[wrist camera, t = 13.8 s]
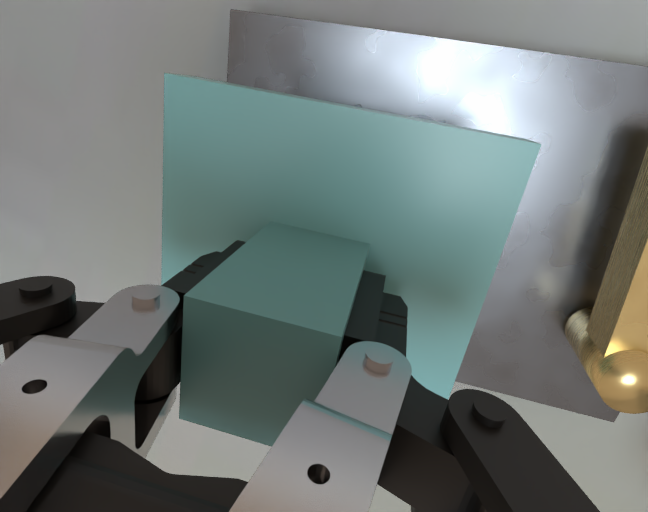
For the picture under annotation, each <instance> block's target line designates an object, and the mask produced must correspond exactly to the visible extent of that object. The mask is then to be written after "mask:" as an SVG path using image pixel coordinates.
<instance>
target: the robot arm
mask: <svg viewBox="0 0 648 512" xmlns="http://www.w3.org/2000/svg"><path fill="white" fill-rule="evenodd" d="M245 243H246V242H244V241H240V240H236V241H235V242H234V243H233V244H231V245H230V246H229V247H228V248H226V249H225V250H224V251H222V252H218V251H216V252H212V253H209V254H206V255H202V256H200V257H199V258H198V259H196V260H195V261H194V262H192V263H191V265H188V266H187V267H186V268H184V269H183V271H180V272H179V273H177V274H176V275H175V276H173V277H172V278H171V279H169V280H168V281H167V282H165V283H164V284H163V285H161V286H159V285H137V286H132V287H128V288H125V289H123V290H121V291H119V292H117V293H116V294H115V295H113V296H112V297H111V298H110V299H109V300H108V301H107V302H106V303H97V302H82V301H76V293H75V286H74V284H73V283H72V282H70V281H69V280H67V279H64V278H60V277H53V276H37V277H29V278H24V279H19V280H15V281H11V282H6V283H2V284H0V345H1V344H3V348H4V354H5V361H4V362H2V363H1V364H0V512H369V508H370V505H371V502H372V499H373V496H374V492H375V489H376V486H377V484H378V485H380V486H381V487H383V488H384V489H386V490H387V491H389V492H391V493H392V494H394V495H395V496H397V497H398V498H400V499H401V500H403V501H404V502H406V503H408V504H409V505H411V512H600V511H599V510H598V509H597V507H596V506H595V505H594V504H593V503H592V501H591V500H590V499H589V498H588V497H587V495H586V494H585V493H584V492H583V491H582V489H581V488H580V487H579V486H578V485H577V483H576V482H575V481H574V480H573V479H572V477H571V476H570V475H569V474H568V473H567V471H566V470H565V469H564V468H563V467H562V465H561V464H560V463H559V462H558V461H557V459H556V458H555V457H554V456H553V455H552V453H551V452H550V451H549V450H548V449H547V447H546V446H545V445H544V444H543V443H542V441H541V440H540V439H539V438H538V436H537V435H536V434H535V433H534V432H533V430H532V429H531V428H530V427H529V426H528V424H527V423H526V422H525V421H524V420H523V418H522V417H521V416H520V415H519V414H518V413H517V412H516V411H515V410H514V409H513V408H512V407H511V406H510V405H508V404H507V403H506V402H504V401H503V400H501V399H499V398H498V397H496V396H494V395H491V394H489V393H486V392H483V391H479V390H474V389H463V390H459V391H456V392H454V393H453V394H452V395H451V397H450V398H449V400H448V399H446V398H444V397H442V396H440V395H438V394H436V393H434V392H432V391H430V390H428V389H427V388H425V387H424V386H422V385H421V384H420V383H419V382H417V381H416V379H415V378H414V377H413V376H412V375H411V373H412V368H411V365H410V362H409V361H408V359H407V358H406V347H407V317H408V307H407V305H406V304H405V302H404V301H403V299H402V298H401V296H397V295H393V294H389V293H385V292H383V290H384V284H385V278H386V275H382V274H377V273H373V272H369V271H365V270H363V273H362V277H361V280H360V283H359V287H358V290H357V293H356V297H355V300H354V303H353V307H352V310H351V313H350V317H349V320H348V323H347V327H346V330H345V333H344V337H343V342H342V346H341V351H340V355H339V360H338V364H337V366H336V367H335V369H334V370H333V372H332V374H331V375H330V377H329V378H328V380H327V382H326V383H325V385H324V387H323V388H322V390H321V391H320V393H319V395H318V396H317V398H316V399H315V401H312V400H309V399H305V400H303V401H302V403H301V404H300V405H299V407H298V408H297V410H296V411H295V413H294V414H293V416H292V417H291V419H290V420H289V422H288V423H287V425H286V426H285V428H284V429H283V431H282V432H281V434H280V435H279V437H278V438H277V440H276V441H275V443H274V444H273V446H272V447H271V449H270V450H269V452H268V453H267V455H266V456H265V458H264V459H263V461H262V462H261V464H260V465H259V467H258V468H257V470H256V471H255V473H254V474H253V476H252V477H251V479H250V480H249V482H246V481H243V480H240V479H234V478H219V477H204V476H190V475H175V474H169V473H166V472H164V471H162V470H161V469H159V468H158V467H156V466H155V465H153V464H152V463H150V462H149V461H148V460H146V459H145V458H146V456H147V454H148V452H149V450H150V448H151V446H152V444H153V442H154V440H155V438H156V437H157V435H158V433H159V431H160V429H161V427H162V425H163V423H164V421H165V419H166V417H167V415H168V413H169V412H170V410H171V408H172V406H173V404H174V402H175V399H176V391H177V385H178V384H179V383H180V381H181V356H182V330H183V303H184V295H185V294H186V293H187V292H189V291H190V290H191V289H192V288H193V287H194V286H196V285H197V284H198V283H199V282H200V281H201V280H203V279H204V278H205V277H206V276H207V275H208V274H210V273H211V272H212V271H213V270H214V269H216V268H217V267H218V266H219V265H220V264H221V263H223V262H224V261H225V260H226V259H227V258H228V257H230V256H231V255H232V254H233V253H234V252H235V251H237V250H238V249H239V248H240V247H241V246H242V245H244V244H245Z"/></svg>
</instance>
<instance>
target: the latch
mask: <svg viewBox="0 0 648 512" xmlns="http://www.w3.org/2000/svg"><path fill="white" fill-rule="evenodd" d="M565 336H566V338H567V340H568V342H569V344H570V345H571V347H572V349H573V350H574V352H575V354H576V356H577V357H578V359H579V361H580V362H581V364H582V366H583V367H584V369H585V371H586V373H587V374H588V376H589V378H590V379H591V381H592V383H593V385H594V386H595V388H596V390H597V391H598V393H599V395H600V396H601V398H602V400H603V401H604V402H605V403H606V404H607V405H608V406H609V407H611V408H612V409H615V410H617V411H620V412H624V413H632V414H636V413H645V412H648V147H647V150H646V153H645V156H644V159H643V162H642V165H641V168H640V171H639V174H638V177H637V180H636V183H635V186H634V189H633V192H632V195H631V198H630V201H629V203H628V206H627V209H626V212H625V215H624V218H623V221H622V224H621V227H620V230H619V233H618V236H617V239H616V242H615V245H614V248H613V251H612V254H611V257H610V260H609V263H608V266H607V269H606V272H605V275H604V277H603V280H602V283H601V286H600V289H599V292H598V295H597V298H596V301H595V304H594V307H588V308H584V309H581V310H579V311H577V312H576V313H574V314H573V315H572V316H571V317H570V318H569V319H568V321H567V323H566V325H565Z"/></svg>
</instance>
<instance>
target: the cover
mask: <svg viewBox="0 0 648 512" xmlns="http://www.w3.org/2000/svg"><path fill="white" fill-rule="evenodd" d="M540 147H541V144H540V143H537V142H534V141H531V140H528V139H525V138H520V137H515V136H509V135H504V134H499V133H493V132H488V131H483V130H477V129H472V128H467V127H461V126H456V125H451V124H446V123H440V122H435V121H430V120H424V119H419V118H414V117H408V116H403V115H398V114H392V113H387V112H382V111H377V110H371V109H366V108H361V107H355V106H350V105H345V104H339V103H334V102H329V101H323V100H318V99H313V98H308V97H302V96H297V95H292V94H286V93H281V92H276V91H270V90H265V89H260V88H254V87H249V86H244V85H238V84H233V83H228V82H223V81H217V80H212V79H207V78H201V77H196V76H190V75H180V74H170V73H164V137H163V210H162V283H161V285H163V284H164V283H165V282H167V281H168V280H169V279H171V278H172V277H173V276H175V275H176V274H177V273H179V272H180V271H183V269H184V268H186V267H187V266H188V265H191V263H192V262H194V261H195V260H196V259H198V258H199V257H200V256H202V255H206V254H209V253H212V252H216V251H218V252H222V251H224V250H225V249H226V248H228V247H229V246H230V245H231V244H233V243H234V242H235V241H236V240H240V241H244V242H246V243H245V244H244V245H242V246H241V247H240V248H239V249H238V250H237V251H235V252H234V253H233V254H232V255H231V256H230V257H228V258H227V259H226V260H225V261H224V262H223V263H221V264H220V265H219V266H218V267H217V268H216V269H214V270H213V271H212V272H211V273H210V274H208V275H207V276H206V277H205V278H204V279H203V280H201V281H200V282H199V283H198V284H197V285H196V286H194V287H193V288H192V289H191V290H190V291H189V292H187V293H186V294H185V295H184V303H183V330H182V356H181V382H180V408H179V419H183V420H186V421H189V422H193V423H196V424H199V425H203V426H206V427H209V428H212V429H216V430H219V431H222V432H226V433H229V434H232V435H235V436H239V437H242V438H245V439H249V440H252V441H255V442H259V443H262V444H265V445H268V446H273V444H274V443H275V441H276V440H277V438H278V437H279V435H280V434H281V432H282V431H283V429H284V428H285V426H286V425H287V423H288V422H289V420H290V419H291V417H292V416H293V414H294V413H295V411H296V410H297V408H298V407H299V405H300V404H301V403H302V401H303V400H305V399H309V400H312V401H315V399H316V398H317V396H318V395H319V393H320V391H321V390H322V388H323V387H324V385H325V383H326V382H327V380H328V378H329V377H330V375H331V374H332V372H333V370H334V369H335V367H336V366H337V364H338V360H339V355H340V351H341V346H342V342H343V337H344V333H345V330H346V327H347V323H348V320H349V317H350V313H351V310H352V307H353V303H354V300H355V297H356V293H357V290H358V287H359V283H360V280H361V277H362V273H363V270H365V271H369V272H373V273H377V274H382V275H386V278H385V284H384V290H383V292H385V293H389V294H393V295H397V296H401V298H402V299H403V301H404V302H405V304H406V305H407V307H408V317H407V347H406V358H407V359H408V361H409V362H410V365H411V368H412V373H411V375H412V376H413V377H414V378H415V379H416V381H417V382H419V383H420V384H421V385H422V386H424V387H425V388H427V389H428V390H430V391H432V392H434V393H436V394H438V395H440V396H442V397H444V398H446V399H448V398H449V396H450V393H451V390H452V387H453V385H454V382H455V379H456V376H457V374H458V371H459V368H460V366H461V363H462V360H463V357H464V355H465V352H466V349H467V346H468V344H469V341H470V338H471V336H472V333H473V330H474V327H475V325H476V322H477V319H478V316H479V314H480V311H481V308H482V305H483V303H484V300H485V297H486V295H487V292H488V289H489V286H490V284H491V281H492V278H493V275H494V273H495V270H496V267H497V265H498V262H499V259H500V256H501V254H502V251H503V248H504V245H505V243H506V240H507V237H508V234H509V232H510V229H511V226H512V224H513V221H514V218H515V215H516V213H517V210H518V207H519V204H520V202H521V199H522V196H523V194H524V191H525V188H526V185H527V183H528V180H529V177H530V174H531V172H532V169H533V166H534V163H535V161H536V158H537V155H538V153H539V150H540Z"/></svg>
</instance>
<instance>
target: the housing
mask: <svg viewBox="0 0 648 512" xmlns="http://www.w3.org/2000/svg"><path fill="white" fill-rule="evenodd" d="M227 82H228V83H233V84H238V85H244V86H249V87H254V88H260V89H265V90H270V91H276V92H281V93H286V94H292V95H297V96H302V97H308V98H313V99H318V100H323V101H329V102H334V103H339V104H345V105H350V106H355V107H361V108H366V109H371V110H377V111H382V112H387V113H392V114H398V115H403V116H408V117H414V118H419V119H424V120H430V121H435V122H440V123H446V124H451V125H456V126H461V127H467V128H472V129H477V130H483V131H488V132H493V133H499V134H504V135H509V136H515V137H520V138H525V139H528V140H531V141H534V142H537V143H540V144H541V147H540V150H539V153H538V155H537V158H536V161H535V163H534V166H533V169H532V172H531V174H530V177H529V180H528V183H527V185H526V188H525V191H524V194H523V196H522V199H521V202H520V204H519V207H518V210H517V213H516V215H515V218H514V221H513V224H512V226H511V229H510V232H509V234H508V237H507V240H506V243H505V245H504V248H503V251H502V254H501V256H500V259H499V262H498V265H497V267H496V270H495V273H494V275H493V278H492V281H491V284H490V286H489V289H488V292H487V295H486V297H485V300H484V303H483V305H482V308H481V311H480V314H479V316H478V319H477V322H476V325H475V327H474V330H473V333H472V336H471V338H470V341H469V344H468V346H467V349H466V352H465V355H464V357H463V360H462V363H461V366H460V368H459V371H458V374H457V376H456V379H455V381H457V382H460V383H464V384H468V385H472V386H476V387H480V388H484V389H487V390H491V391H495V392H499V393H503V394H507V395H511V396H514V397H518V398H522V399H526V400H530V401H534V402H538V403H541V404H545V405H549V406H553V407H557V408H561V409H565V410H568V411H572V412H576V413H580V414H584V415H588V416H592V417H595V418H599V419H603V420H607V421H611V422H614V421H615V419H616V418H617V416H618V414H619V412H620V411H617V410H615V409H612V408H611V407H609V406H608V405H607V404H606V403H605V402H604V401H603V400H602V398H601V396H600V395H599V393H598V391H597V390H596V388H595V386H594V385H593V383H592V381H591V379H590V378H589V376H588V374H587V373H586V371H585V369H584V367H583V366H582V364H581V362H580V361H579V359H578V357H577V356H576V354H575V352H574V350H573V349H572V347H571V345H570V344H569V342H568V340H567V338H566V336H565V325H566V323H567V321H568V319H569V318H570V317H571V316H572V315H573V314H574V313H576V312H577V311H579V310H581V309H584V308H588V307H594V304H595V301H596V298H597V295H598V292H599V289H600V286H601V283H602V280H603V277H604V275H605V272H606V269H607V266H608V263H609V260H610V257H611V254H612V251H613V248H614V245H615V242H616V239H617V236H618V233H619V230H620V227H621V224H622V221H623V218H624V215H625V212H626V209H627V206H628V203H629V201H630V198H631V195H632V192H633V189H634V186H635V183H636V180H637V177H638V174H639V171H640V168H641V165H642V162H643V159H644V156H645V153H646V150H647V147H648V67H647V66H640V65H633V64H625V63H618V62H611V61H604V60H596V59H589V58H582V57H575V56H567V55H560V54H553V53H545V52H538V51H531V50H524V49H516V48H509V47H502V46H495V45H487V44H480V43H473V42H465V41H458V40H451V39H444V38H436V37H429V36H422V35H415V34H407V33H400V32H393V31H385V30H378V29H371V28H364V27H356V26H349V25H342V24H335V23H327V22H320V21H313V20H305V19H298V18H291V17H284V16H276V15H269V14H262V13H255V12H247V11H240V10H233V9H231V10H230V32H229V53H228V74H227Z"/></svg>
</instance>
